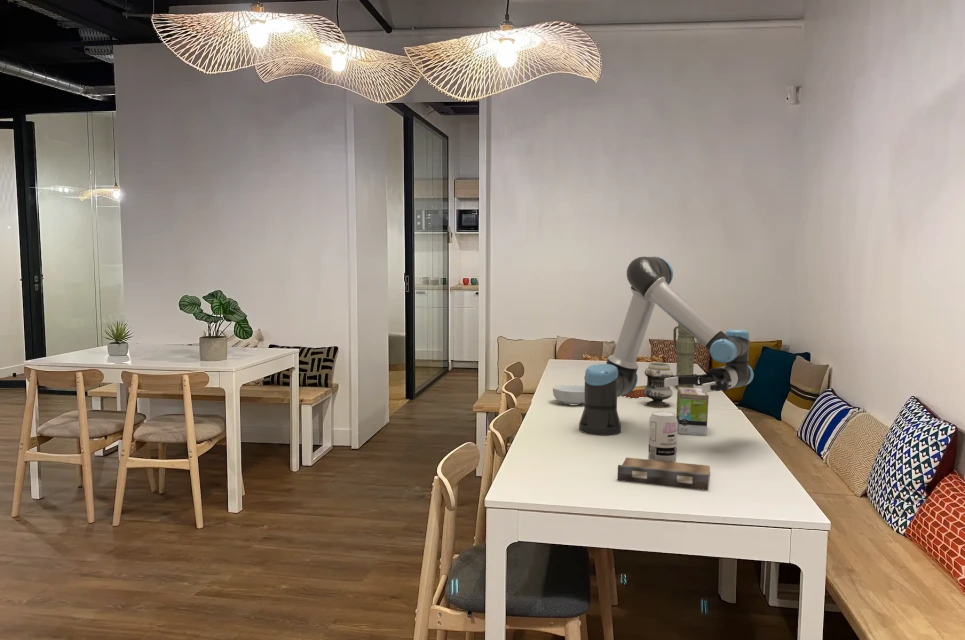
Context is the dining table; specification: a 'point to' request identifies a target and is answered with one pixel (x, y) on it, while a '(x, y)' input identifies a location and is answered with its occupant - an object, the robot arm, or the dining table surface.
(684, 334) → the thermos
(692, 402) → the tea box
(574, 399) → the cereal bowl
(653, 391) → the apothecary jar
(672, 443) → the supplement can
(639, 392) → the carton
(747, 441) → the dining table surface
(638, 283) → the robot arm
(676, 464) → the shelf
